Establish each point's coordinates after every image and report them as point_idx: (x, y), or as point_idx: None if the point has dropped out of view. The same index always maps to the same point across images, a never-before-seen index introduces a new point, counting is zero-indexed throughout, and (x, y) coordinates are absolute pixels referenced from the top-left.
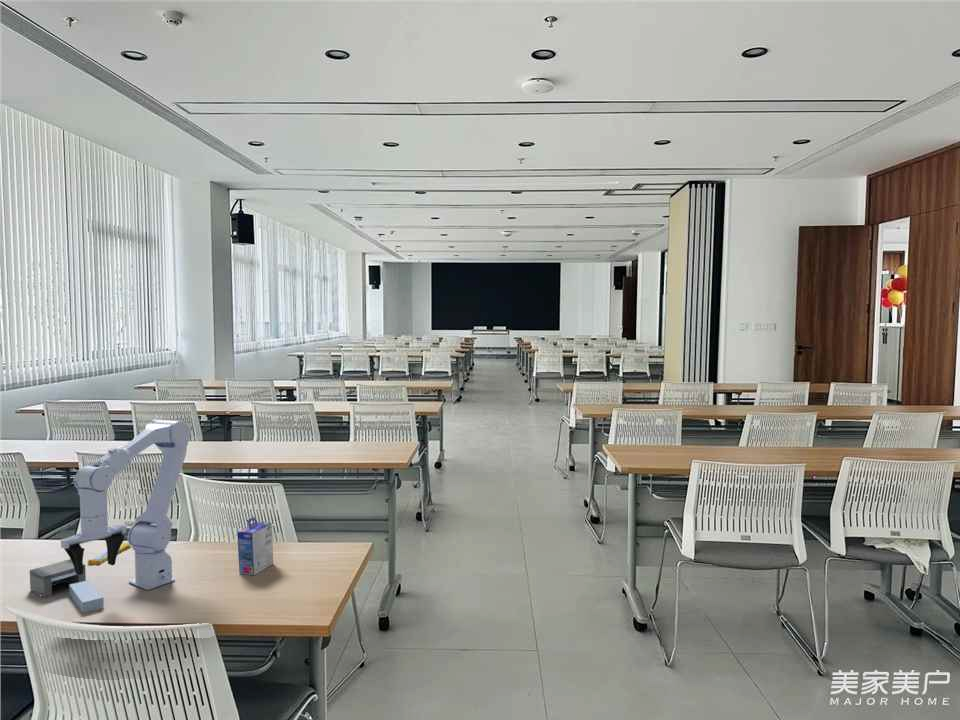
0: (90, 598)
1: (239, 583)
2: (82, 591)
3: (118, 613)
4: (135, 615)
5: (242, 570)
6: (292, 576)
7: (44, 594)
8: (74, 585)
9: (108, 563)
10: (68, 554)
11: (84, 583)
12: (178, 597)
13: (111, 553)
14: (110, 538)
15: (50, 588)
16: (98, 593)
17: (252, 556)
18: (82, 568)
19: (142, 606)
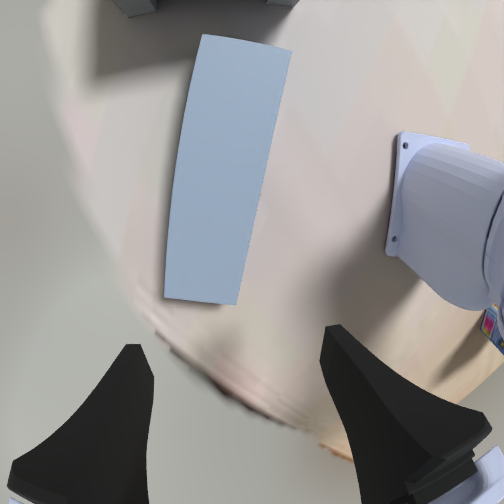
0: (197, 282)
1: (453, 346)
2: (204, 176)
3: (242, 344)
4: (263, 374)
5: (489, 316)
6: (476, 361)
7: (124, 13)
8: (213, 63)
9: (326, 331)
10: (54, 442)
11: (257, 74)
12: (377, 345)
13: (348, 406)
14: (388, 492)
15: (143, 2)
16: (241, 254)
17: (501, 351)
18: (148, 411)
19: (304, 344)
